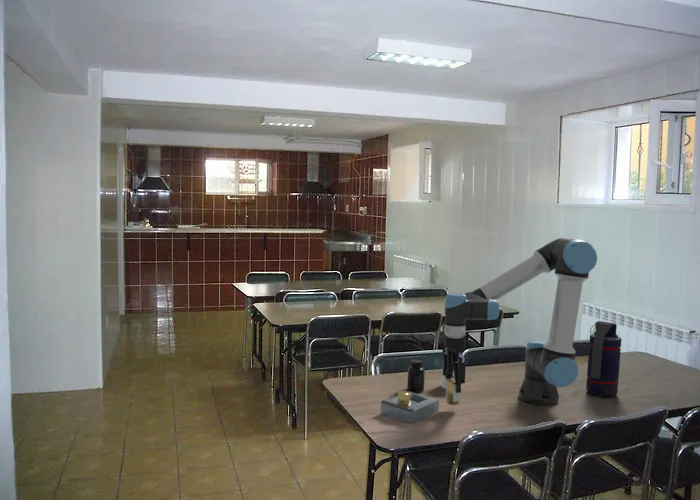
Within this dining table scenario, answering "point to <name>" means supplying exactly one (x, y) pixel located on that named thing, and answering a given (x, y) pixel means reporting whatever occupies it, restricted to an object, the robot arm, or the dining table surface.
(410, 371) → the supplement bottle
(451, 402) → the cylinder
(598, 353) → the grenade
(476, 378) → the dining table surface
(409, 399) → the block
